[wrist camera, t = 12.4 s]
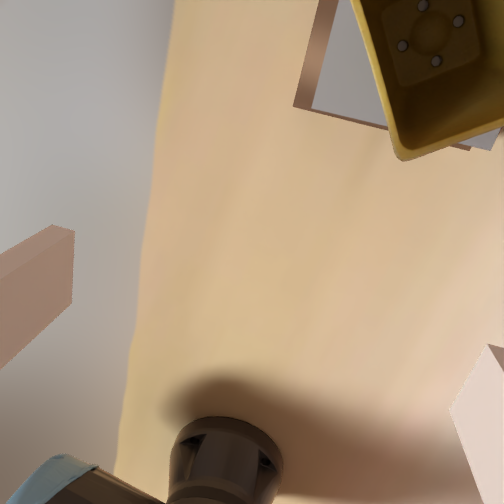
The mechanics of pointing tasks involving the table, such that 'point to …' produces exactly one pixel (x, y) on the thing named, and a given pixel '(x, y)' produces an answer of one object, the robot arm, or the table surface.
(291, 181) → the table surface
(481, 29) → the flower pot
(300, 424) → the table surface
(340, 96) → the grey top slab
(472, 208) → the table surface
